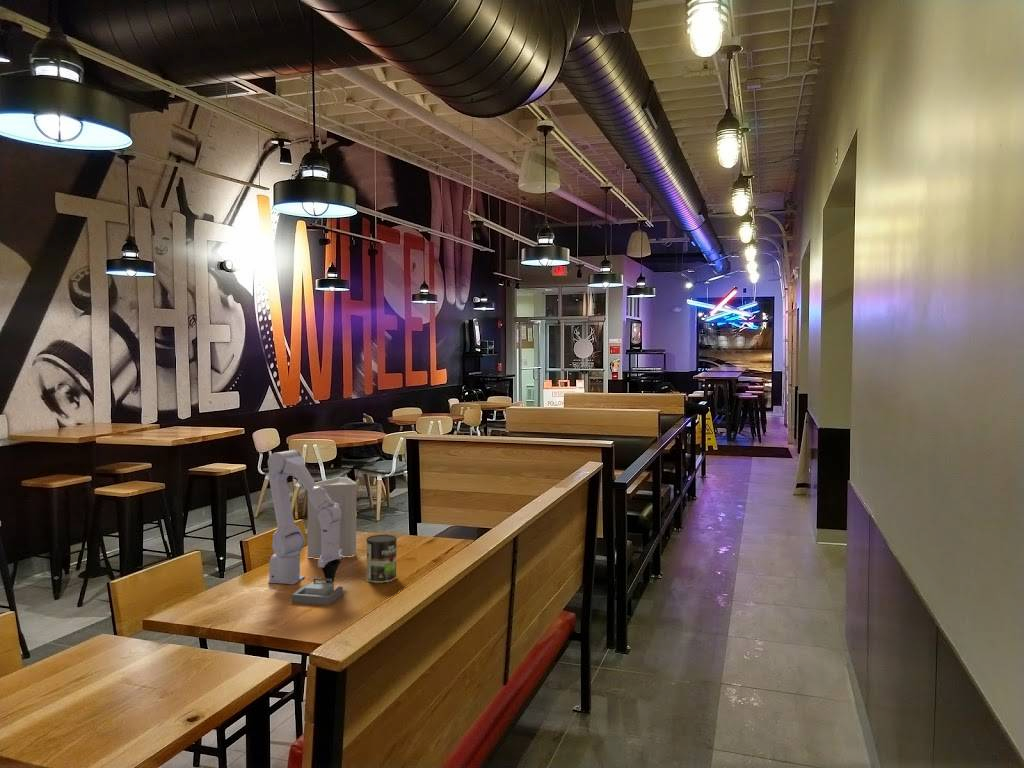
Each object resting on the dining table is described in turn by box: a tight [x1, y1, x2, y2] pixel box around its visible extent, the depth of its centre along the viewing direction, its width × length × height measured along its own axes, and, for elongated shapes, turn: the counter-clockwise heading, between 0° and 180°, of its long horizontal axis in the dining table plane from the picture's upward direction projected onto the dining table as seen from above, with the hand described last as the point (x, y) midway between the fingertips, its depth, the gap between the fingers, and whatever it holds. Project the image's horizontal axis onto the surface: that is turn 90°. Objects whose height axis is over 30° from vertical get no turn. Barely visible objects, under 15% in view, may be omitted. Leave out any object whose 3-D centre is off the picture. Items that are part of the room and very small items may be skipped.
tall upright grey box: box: [307, 476, 357, 558], centre depth 266 cm, size 19×15×28 cm
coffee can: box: [365, 534, 398, 584], centre depth 237 cm, size 10×10×14 cm
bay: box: [291, 583, 344, 606], centre depth 217 cm, size 12×10×2 cm
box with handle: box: [305, 577, 335, 596], centre depth 218 cm, size 7×6×5 cm
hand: (329, 582), depth 227 cm, fingers closed
